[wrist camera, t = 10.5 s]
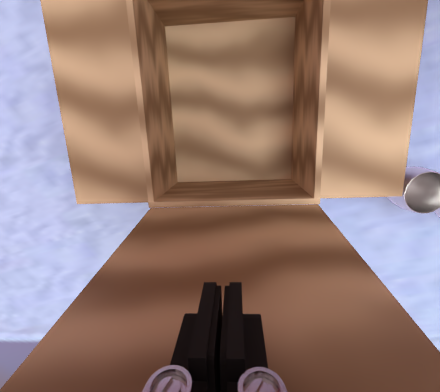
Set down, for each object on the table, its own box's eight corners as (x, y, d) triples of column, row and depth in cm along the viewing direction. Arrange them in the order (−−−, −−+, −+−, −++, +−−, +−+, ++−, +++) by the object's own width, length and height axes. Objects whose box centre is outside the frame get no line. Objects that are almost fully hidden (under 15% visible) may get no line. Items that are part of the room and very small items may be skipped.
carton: (103, 27, 35) (35, -26, 23) (364, 8, 32) (436, -63, 20) (124, 186, 40) (78, 209, 28) (350, 180, 37) (401, 202, 26)
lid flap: (-89, 496, 7) (-80, 509, 7) (597, 541, 6) (585, 555, 6) (150, 207, 28) (151, 213, 28) (317, 204, 26) (317, 209, 26)
